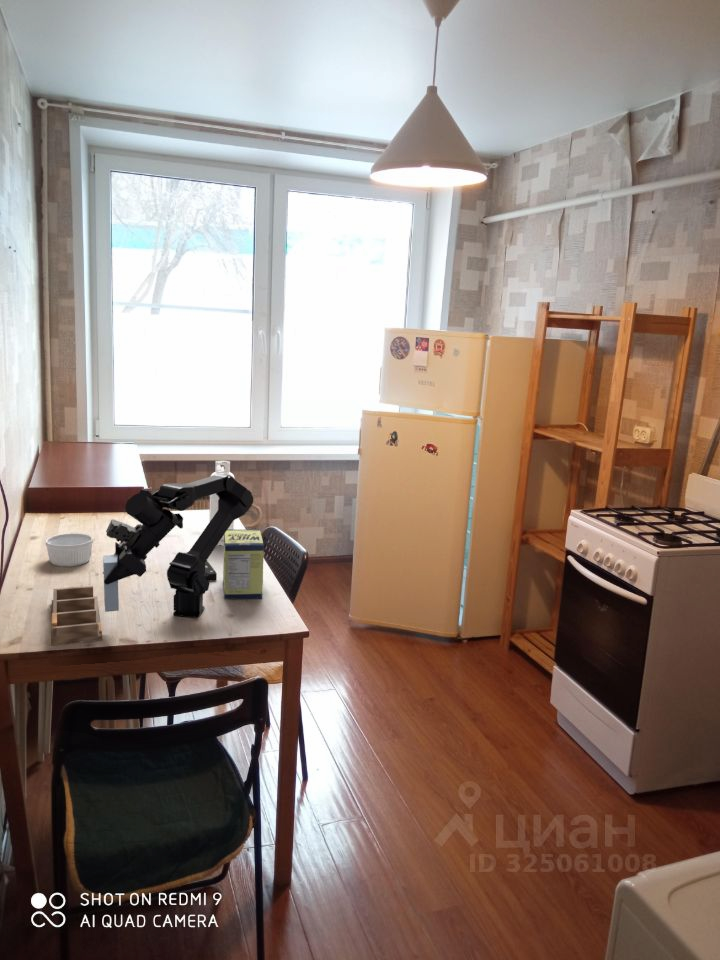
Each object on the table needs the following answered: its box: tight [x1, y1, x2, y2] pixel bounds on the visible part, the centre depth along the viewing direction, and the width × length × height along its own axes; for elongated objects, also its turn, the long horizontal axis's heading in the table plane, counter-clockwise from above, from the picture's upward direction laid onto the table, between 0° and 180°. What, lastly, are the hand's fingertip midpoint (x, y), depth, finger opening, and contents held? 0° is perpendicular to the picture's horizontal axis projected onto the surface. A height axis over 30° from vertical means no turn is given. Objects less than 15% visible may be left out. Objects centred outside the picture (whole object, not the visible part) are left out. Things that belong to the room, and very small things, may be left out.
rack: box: [50, 585, 103, 646], centre depth 173 cm, size 11×25×5 cm, turn 23°
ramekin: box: [45, 532, 94, 567], centre depth 214 cm, size 13×13×7 cm
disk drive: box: [204, 559, 218, 582], centre depth 210 cm, size 10×3×15 cm
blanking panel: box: [102, 554, 120, 613], centre depth 167 cm, size 3×6×12 cm, turn 21°
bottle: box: [208, 460, 236, 545], centre depth 238 cm, size 8×8×28 cm
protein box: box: [222, 529, 265, 600], centre depth 199 cm, size 10×16×16 cm
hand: (104, 578), depth 166 cm, fingers closed on blanking panel, 5 cm apart
